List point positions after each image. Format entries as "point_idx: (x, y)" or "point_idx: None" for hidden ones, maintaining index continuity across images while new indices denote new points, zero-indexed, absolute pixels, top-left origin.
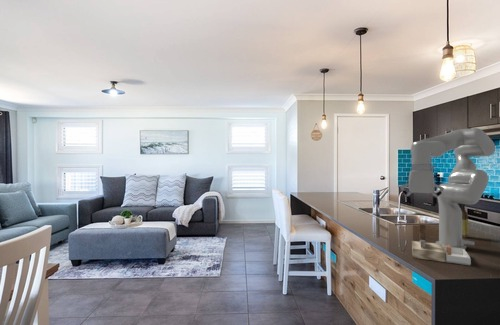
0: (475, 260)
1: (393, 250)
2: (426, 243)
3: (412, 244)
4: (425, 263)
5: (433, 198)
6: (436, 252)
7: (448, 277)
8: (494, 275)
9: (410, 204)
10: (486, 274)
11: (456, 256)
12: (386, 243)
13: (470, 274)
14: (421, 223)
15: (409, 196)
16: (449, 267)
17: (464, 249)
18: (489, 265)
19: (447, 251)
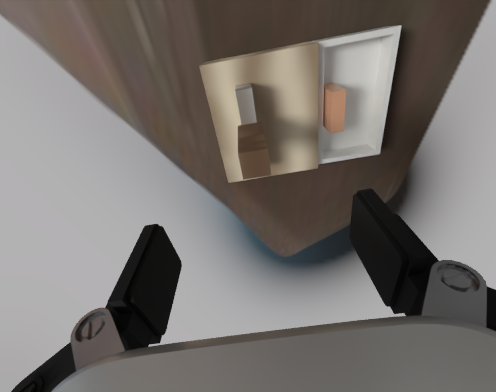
0: (403, 74)
1: (160, 129)
2: (259, 76)
3: (216, 131)
4: (263, 194)
5: (385, 301)
6: (293, 170)
7: (305, 243)
8: (398, 185)
9: (180, 265)
10: (383, 189)
11: (343, 159)
12: (88, 32)
13: (349, 207)
14: (249, 156)
15: (152, 339)
16: (314, 190)
17: (398, 36)
18: (424, 108)
19: (326, 128)
